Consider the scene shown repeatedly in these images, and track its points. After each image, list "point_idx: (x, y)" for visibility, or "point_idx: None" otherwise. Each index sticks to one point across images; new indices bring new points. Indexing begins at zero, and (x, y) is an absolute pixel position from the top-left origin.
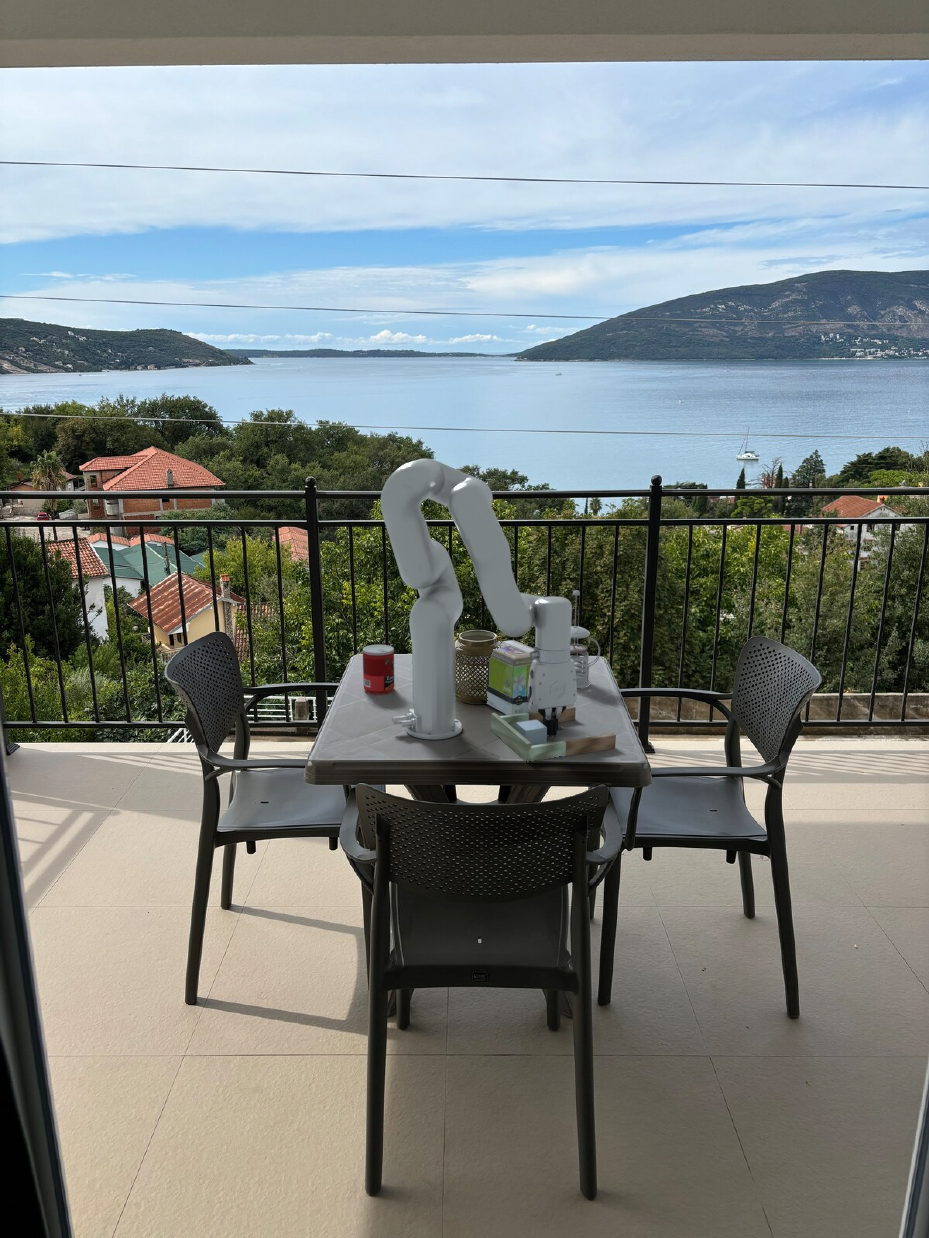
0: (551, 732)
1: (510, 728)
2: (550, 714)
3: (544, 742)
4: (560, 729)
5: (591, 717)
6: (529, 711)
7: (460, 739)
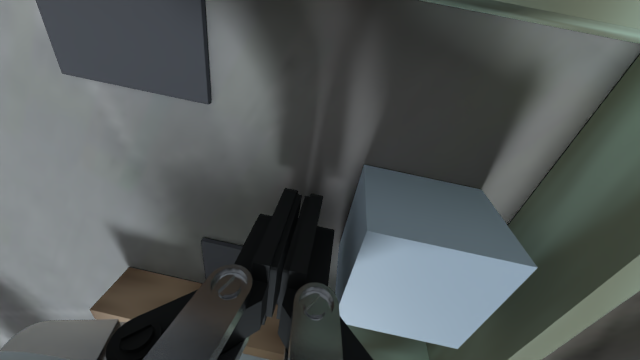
0: (313, 207)
1: (571, 328)
2: (296, 322)
3: (376, 174)
4: (214, 241)
5: (67, 252)
6: (250, 355)
7: (588, 353)
